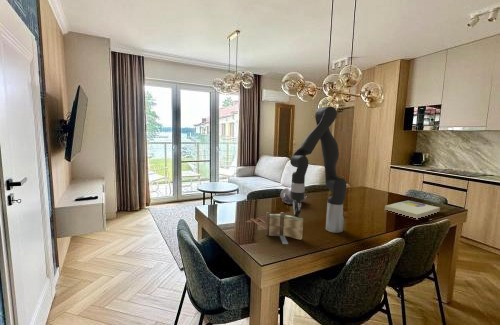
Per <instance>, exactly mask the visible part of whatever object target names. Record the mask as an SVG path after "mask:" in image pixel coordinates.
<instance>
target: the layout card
mask: <svg viewBox="0 0 500 325" xmlns="http://www.w3.org/2000/svg"><path fill="white" fill-rule="evenodd" d="M274 236H275V237H279V238H280V241H281V243H282V245H289V242H288V240H287V237H286V236H284V235H268V237H274Z"/></svg>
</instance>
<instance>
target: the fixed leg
mask: <svg viewBox="0 0 500 325" xmlns="http://www.w3.org/2000/svg"><path fill="white" fill-rule="evenodd" d="M284 215H285V212H283V211H281V212H280V213H270V212H269V211H268V212H265V218H266V220H265V221H266V224H265V227H266V230H265V236H269V235H283V228H284Z"/></svg>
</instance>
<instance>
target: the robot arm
mask: <svg viewBox="0 0 500 325" xmlns="http://www.w3.org/2000/svg"><path fill="white" fill-rule="evenodd" d="M337 117H338V111H337V109H336V108H335V107H334V106H323V107H319V108H317V109H316V110H315V113H314V119H315V122H316V127H314V129H312V130H311V132H310V133H308V135H306V137H305V138H304V140H303V142H302V144H301V145H300V146H299V147H298V148H297V150H296V151H294V153H292V156H291V157H290V160H289V163H290V165H291V166H292V167H294V168H296V171H293V172H292V173H291V174H292V175H291V185H290V187H291V199H293V200H294V201H293V204H292V209H293V216H294V217H299V215H300V214H301V212H302V202H300V201H301V200H303V199H304V196H305V189H306V188H305V182H306V180H305V179H306V173H307V170H308V168H309V159H308V157H307V156H308V155H311V154H312V153H313V151H314V149H315V148H316V146H317V145H318V143H319V141H320V146H321V152H322V158H323V166H324V177H325V186H326V188H327V190H329V191H332V195H331V196H328V197H327V201H326V203H327V204H326V217H325V218H326V219H325V230H326V231H328V232H330V233H335V234H337V233H338V234H339V233H342V232H343V231H344V219H345V217H344V215H343V213H344V212H343V211H344V202H345V200H346V196H347V195H346V194H347V187H348V186H347V181H346V180H345V178H343V177H339V176H338V175H337V171H336V170H337V163H338V160H339V156H340V152H339V151H340V150H339V145H338V141H337V140H336V139H335V136H333V134H332V132H331V130H330V127H331V126H332V125H333V123H334V122H335V121H336V119H337ZM299 218H300V217H299Z"/></svg>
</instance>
